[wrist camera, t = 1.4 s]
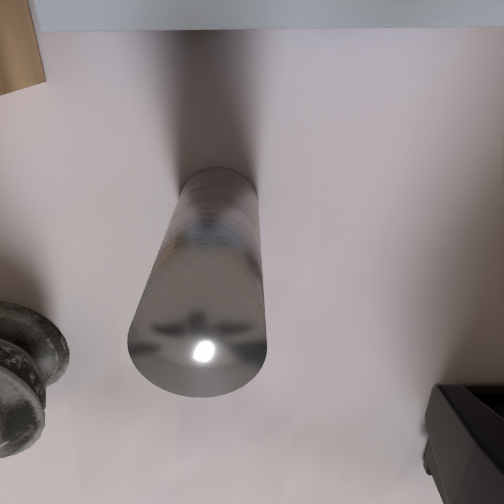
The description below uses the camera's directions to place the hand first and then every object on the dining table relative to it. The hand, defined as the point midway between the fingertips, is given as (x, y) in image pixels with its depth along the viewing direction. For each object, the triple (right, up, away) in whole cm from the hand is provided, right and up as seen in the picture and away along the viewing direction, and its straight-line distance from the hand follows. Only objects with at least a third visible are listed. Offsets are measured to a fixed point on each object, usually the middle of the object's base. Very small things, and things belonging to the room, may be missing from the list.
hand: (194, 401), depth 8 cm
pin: (0, +5, +8) cm, 9 cm away
